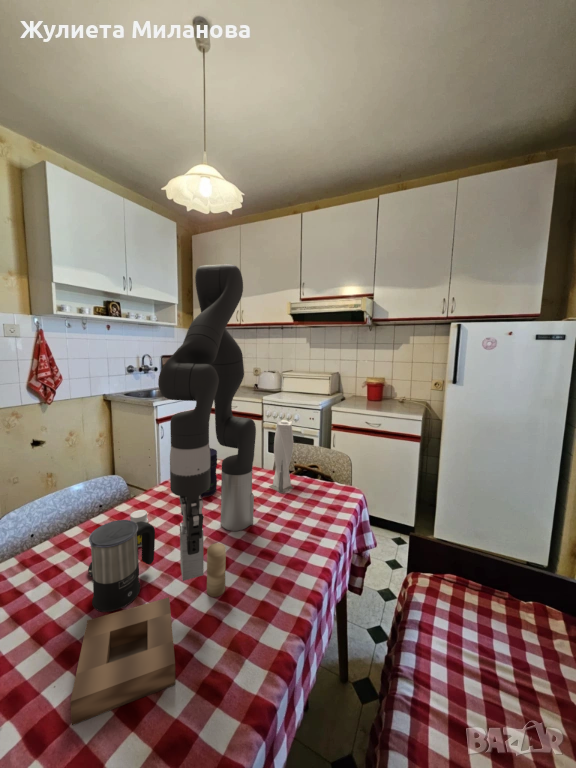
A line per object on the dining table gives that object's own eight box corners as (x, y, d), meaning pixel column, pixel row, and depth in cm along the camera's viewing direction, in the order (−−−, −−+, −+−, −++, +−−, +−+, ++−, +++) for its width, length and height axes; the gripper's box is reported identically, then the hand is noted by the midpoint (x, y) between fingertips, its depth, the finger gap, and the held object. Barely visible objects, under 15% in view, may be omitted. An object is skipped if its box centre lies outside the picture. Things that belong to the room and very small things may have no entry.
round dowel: (222, 581, 72) (223, 541, 71) (226, 593, 69) (227, 552, 67) (205, 585, 71) (205, 545, 69) (208, 599, 67) (209, 556, 66)
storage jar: (213, 498, 110) (213, 457, 108) (185, 496, 110) (185, 456, 108) (219, 485, 120) (220, 448, 118) (194, 484, 120) (194, 447, 118)
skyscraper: (266, 485, 122) (268, 416, 118) (281, 480, 127) (284, 413, 124) (280, 493, 116) (283, 421, 112) (296, 487, 121) (299, 418, 118)
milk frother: (120, 617, 62) (117, 549, 60) (53, 602, 65) (48, 537, 63) (161, 567, 76) (160, 511, 74) (104, 557, 78) (102, 502, 77)
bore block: (169, 614, 63) (169, 597, 62) (175, 684, 50) (175, 663, 50) (88, 639, 57) (87, 620, 56) (71, 725, 44) (70, 701, 44)
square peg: (200, 562, 66) (199, 518, 65) (203, 575, 63) (203, 529, 61) (180, 567, 65) (179, 523, 63) (182, 581, 61) (182, 534, 59)
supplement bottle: (141, 549, 82) (140, 519, 81) (125, 546, 83) (124, 517, 82) (152, 538, 87) (152, 510, 85) (137, 535, 87) (136, 507, 86)
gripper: (217, 477, 55) (217, 564, 58) (203, 450, 68) (204, 522, 71) (173, 485, 52) (175, 575, 55) (167, 454, 65) (169, 529, 68)
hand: (191, 545), depth 63 cm, fingers closed on square peg, 4 cm apart
